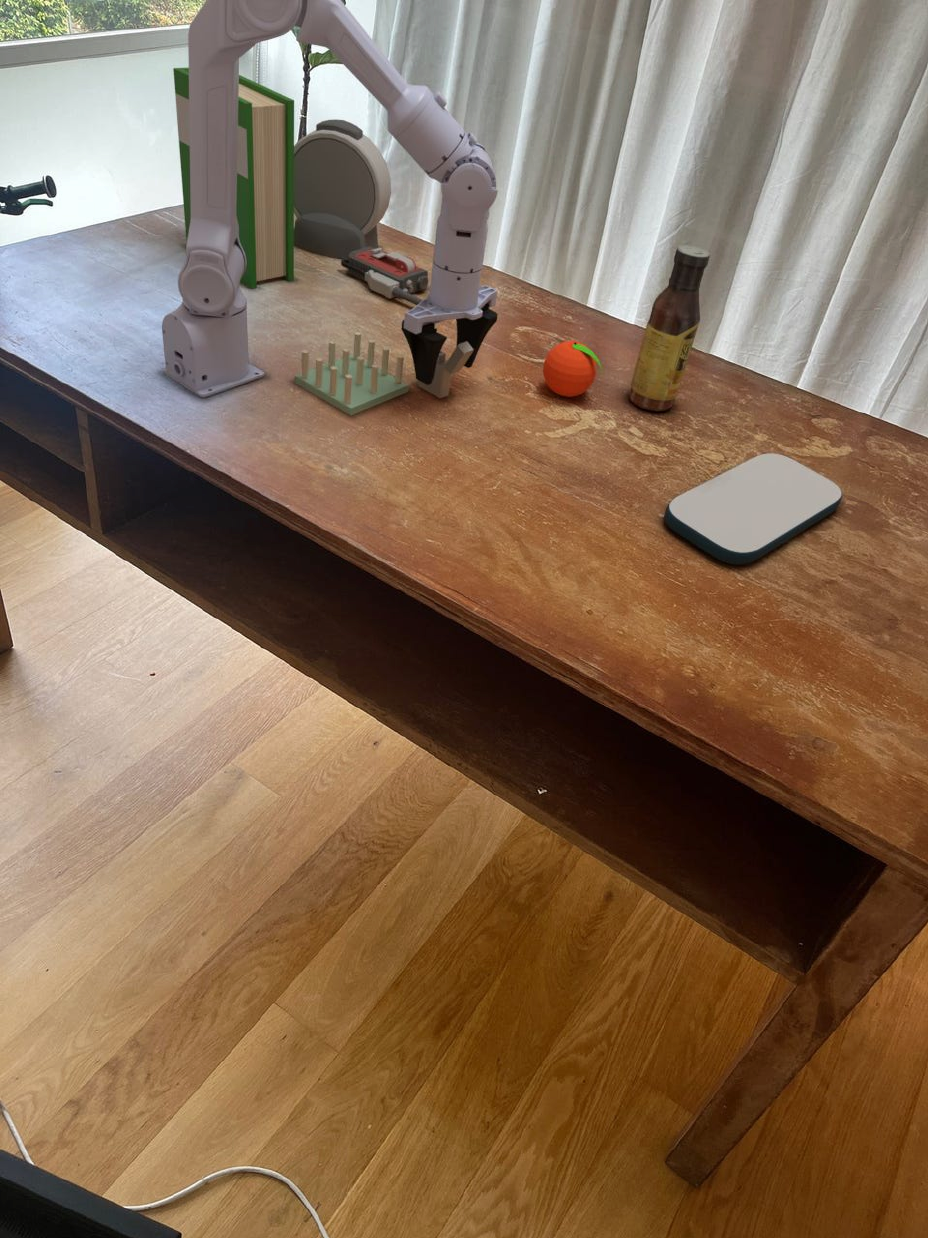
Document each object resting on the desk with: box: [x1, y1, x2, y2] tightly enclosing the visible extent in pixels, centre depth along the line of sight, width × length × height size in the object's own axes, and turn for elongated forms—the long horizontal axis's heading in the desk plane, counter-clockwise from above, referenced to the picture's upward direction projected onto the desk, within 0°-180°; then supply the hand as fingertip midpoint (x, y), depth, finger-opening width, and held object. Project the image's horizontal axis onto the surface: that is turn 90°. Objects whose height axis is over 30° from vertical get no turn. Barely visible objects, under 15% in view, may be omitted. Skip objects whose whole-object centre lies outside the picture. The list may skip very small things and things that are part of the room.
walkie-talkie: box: [340, 246, 429, 306], centre depth 134 cm, size 9×4×20 cm
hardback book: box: [172, 67, 295, 290], centre depth 128 cm, size 18×7×24 cm, turn 43°
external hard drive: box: [663, 452, 843, 566], centre depth 101 cm, size 24×12×2 cm, turn 133°
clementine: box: [542, 340, 603, 398], centre depth 115 cm, size 8×7×7 cm
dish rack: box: [294, 331, 410, 417], centre depth 110 cm, size 10×10×4 cm
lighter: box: [417, 341, 474, 399], centre depth 111 cm, size 7×2×8 cm, turn 48°
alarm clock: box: [294, 119, 392, 260], centre depth 140 cm, size 16×10×18 cm, turn 74°
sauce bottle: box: [628, 244, 711, 412], centre depth 113 cm, size 6×6×20 cm
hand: (444, 372), depth 111 cm, fingers open, 7 cm apart
